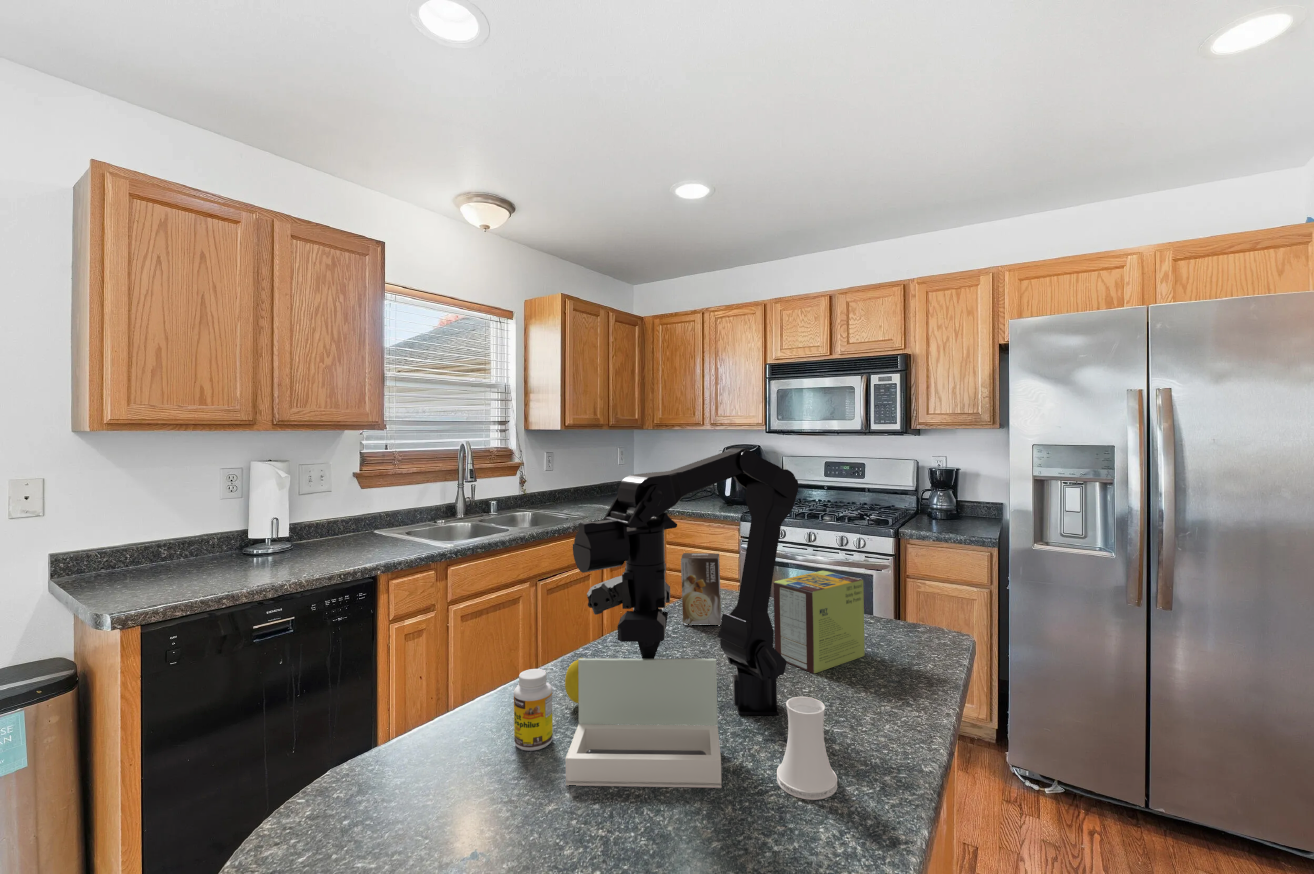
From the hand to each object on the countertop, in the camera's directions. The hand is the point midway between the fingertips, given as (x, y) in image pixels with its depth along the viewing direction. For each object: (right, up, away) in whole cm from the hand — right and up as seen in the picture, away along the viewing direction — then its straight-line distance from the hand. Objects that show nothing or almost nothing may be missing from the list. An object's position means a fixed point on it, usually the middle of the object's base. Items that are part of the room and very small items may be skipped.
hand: (647, 665), depth 87 cm
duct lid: (0, -3, -2) cm, 4 cm away
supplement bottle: (-17, -12, 0) cm, 20 cm away
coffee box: (+12, -11, +55) cm, 57 cm away
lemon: (-11, -11, +12) cm, 20 cm away
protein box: (+34, -11, +31) cm, 47 cm away
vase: (+21, -11, -11) cm, 26 cm away
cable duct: (0, -11, -7) cm, 13 cm away
